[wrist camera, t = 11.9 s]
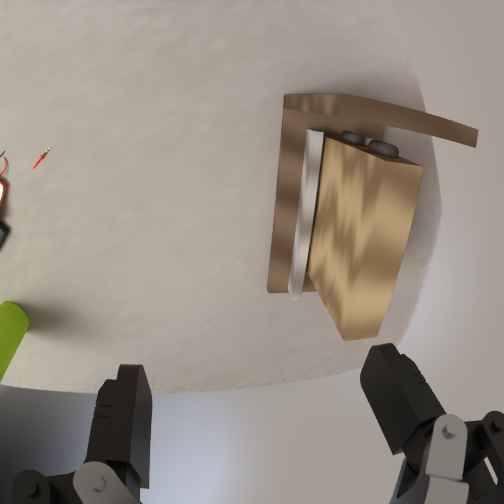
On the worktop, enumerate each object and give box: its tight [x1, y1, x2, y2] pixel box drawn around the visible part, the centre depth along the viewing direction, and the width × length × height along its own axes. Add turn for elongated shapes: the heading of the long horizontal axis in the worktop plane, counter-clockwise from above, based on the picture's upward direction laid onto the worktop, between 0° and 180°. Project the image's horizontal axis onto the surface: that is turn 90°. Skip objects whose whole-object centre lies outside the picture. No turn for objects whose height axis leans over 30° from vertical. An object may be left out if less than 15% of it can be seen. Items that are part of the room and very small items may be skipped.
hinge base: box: [267, 94, 478, 301], centre depth 30 cm, size 24×12×16 cm, turn 177°
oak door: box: [306, 131, 423, 341], centre depth 30 cm, size 17×5×14 cm, turn 177°
